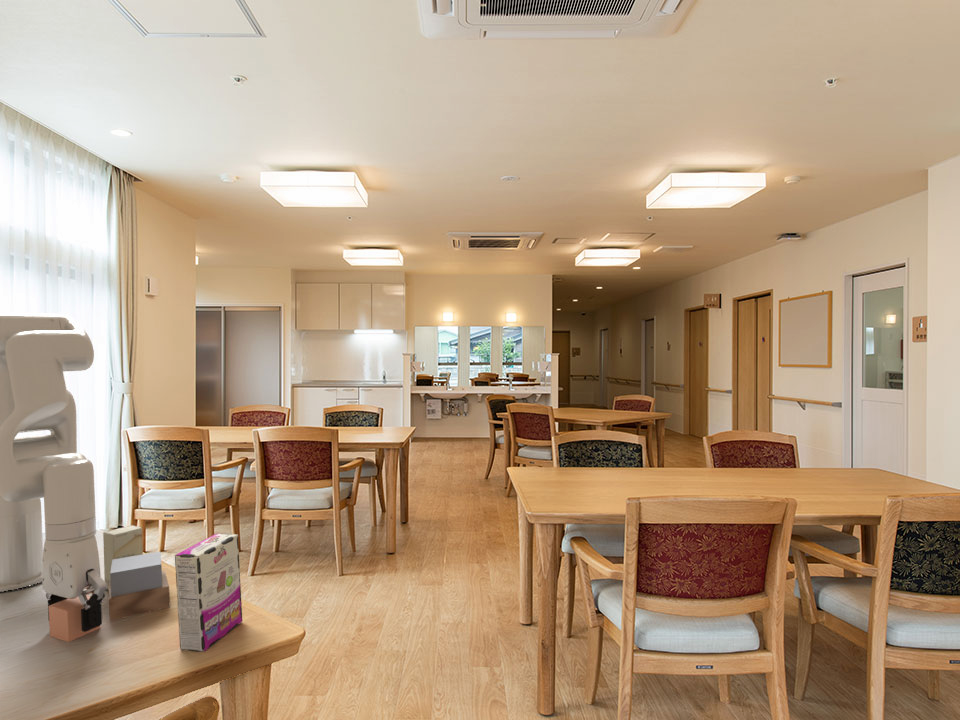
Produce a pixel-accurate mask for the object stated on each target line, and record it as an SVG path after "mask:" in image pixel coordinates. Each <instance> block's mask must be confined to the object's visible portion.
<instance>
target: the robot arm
mask: <svg viewBox="0 0 960 720" xmlns="http://www.w3.org/2000/svg"><path fill="white" fill-rule="evenodd" d="M94 359H95V350H94V347H93V343H92V340H91V338H90V337H89V334H88V333H87V332H86V330H85V329H84V328H83V326H81V325H80V324H79V323H78V321H76V320H75V319H74V318H73V317H72V316H70V315H67V314H61V313H58V314H57V313H26V312H0V593H5V592H4V591H6V592H9V591H8V590H12V591H15V590H14V589H17V590H19V589H18V588H22V587H26V586H29V585H32V586H34V585H33V584H35V585H38V584H40V583H41V584H42V589H43V591H44V592H45V598H46V600H47V613H48V615H47V617H48V618H47V619H48V620H49V606H50V605H52V604H55V603H58V602H60V601H63V600H66V599H75V598H77V596H78V597H79V599H80V601H81V603H82V605H83V607H84V608H83V609H81V625H82V631H83V632H86V631H89V630H91V629H93V628H96V627H98V626H100V627H101V625H102V623H103V620H102V619H103V616H102V604H103V602H104V598H105V597H106V591H107V589H106V588H107V584H106V582H105V579H103V578H102V576H101V575H102V574H101V563H100V554H99V549H98V548H99V547H98V542H97V538H96V534H97V524H96V523H97V522H96V520H97V519H96V518H97V517H96V498H95V497H96V496H95V495H96V494H95V473H94V472H95V470H94V465H93V462H92V461H91V460H89V459H87V457H86V456H85V455H84V454H82V453H78V452H77V451H78V449H77V447H78V446H77V445H78V441H77V438H78V433H77V432H78V431H77V430H78V429H77V405H76V400H75V398H74V396H73V394H72V393H71V392H70V391H69V390H68V389H67V384H66V380H65V375H64V372H81V371H83V372H84V371H86V370H88V369H90V368H91V366H92V365H93V362H94ZM40 431H50V434H45V435H35V436H25V437H24V436H23V437H16V436H17V435H18V434H20V433H21V434H22V433H30V432H31V433H33V432H40ZM41 499H43V507H44V511H43V512H44V533H45V534H44V535H45V539H43V521H42V519H43V517H42V516H43V515H42V500H41ZM37 583H38V584H37ZM29 587H30V586H29ZM26 588H27V587H26ZM22 589H23V588H22ZM86 595H87V596H89V595H91V597H90V599H89V600H88V599H87V597H86Z"/></svg>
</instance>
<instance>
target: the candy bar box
mask: <svg viewBox="0 0 960 720" xmlns="http://www.w3.org/2000/svg"><path fill="white" fill-rule="evenodd" d="M239 548H240V547H239V534H235V533H234V534H233V533H230V534H229V533H215V534H213V535H211V536H209V537H208V538H205V539H203V540H201V541H199V542H197V543H195V544H193V545H192V546H190V547H188V548H186V549H183V550H182V551H180V552H178V553H176V554H174V565H175V566H174V567H175V581H176V583H175V584H176V598H177V600H176V601H177V614H178V615H177V617H178V619H177V620H178V634H179V649H180V650H181V651H185V650H187V651H189V652H200V653H201V652H204V653H205V652H206V651H207V650H209V649H210V648H212V646H214V645H215V644H216V643H218V642H219V641H220V640H221V639H222V638H224V637H225V636H226V635H228V633H230V632H231V631H232V630H233V629H235V628H236V627H237V626H238V625H240V624H241V623H242V622H243V608H242V604H243V603H242V591H241V589H242V588H241V571H240V570H241V569H240V568H241V567H240V554H239V553H240V551H239ZM223 636H224V637H223ZM187 651H186V652H187Z"/></svg>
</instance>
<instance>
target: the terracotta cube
mask: <svg viewBox="0 0 960 720" xmlns="http://www.w3.org/2000/svg"><path fill="white" fill-rule="evenodd" d="M91 596H92V595H91ZM91 596H90V595H86V597H87V599H88V600H89V599H90V597H91ZM83 608H84V607H83V605H82V603H81V601H80V599H79V597H78V596H77V598H75V599H66V600H63V601H60V602H58V603H55V604H52V605H50V606H49V619H48V623H49V626H48V627H49V636H50V637H52V638H55V639H59V640H61V641H65V642H67V643H69V642H71V641H74V640H76V639H78V638H79V639H80V638H81V637H83V636H85V635H88V634H90V633H92V632H95V631H97V630H100V629H101V625H100V626H98V627H96V628H93V629H91V630H89V631H86V632H83V631H82V625H81V609H83Z"/></svg>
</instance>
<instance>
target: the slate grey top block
mask: <svg viewBox="0 0 960 720" xmlns="http://www.w3.org/2000/svg"><path fill="white" fill-rule="evenodd" d="M162 571H163V569H162V553H161V551H155V552H151V553H149V552H148V553H143V555H137V556H131V557H125V558H119V559H113V560H112V565H111V572H110V579H111V597H114V596H119V595H124V594H129V593H134V592H139V591H144V590H149V589H155V588H160V587H162Z"/></svg>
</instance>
